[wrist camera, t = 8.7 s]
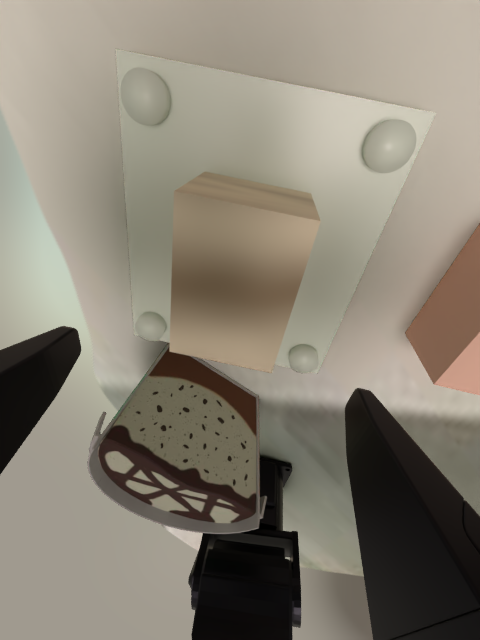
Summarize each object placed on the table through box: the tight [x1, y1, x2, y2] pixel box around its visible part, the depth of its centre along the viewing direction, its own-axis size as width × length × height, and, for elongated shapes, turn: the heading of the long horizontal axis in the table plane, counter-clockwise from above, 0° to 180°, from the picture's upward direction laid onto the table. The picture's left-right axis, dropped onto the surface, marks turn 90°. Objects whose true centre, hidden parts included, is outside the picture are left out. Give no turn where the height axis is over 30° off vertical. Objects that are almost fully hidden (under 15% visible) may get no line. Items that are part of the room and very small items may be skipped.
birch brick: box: [169, 172, 321, 373], centre depth 15 cm, size 8×6×5 cm
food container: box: [87, 343, 267, 534], centre depth 22 cm, size 12×6×10 cm, turn 52°
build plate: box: [115, 49, 436, 374], centre depth 17 cm, size 16×14×2 cm
